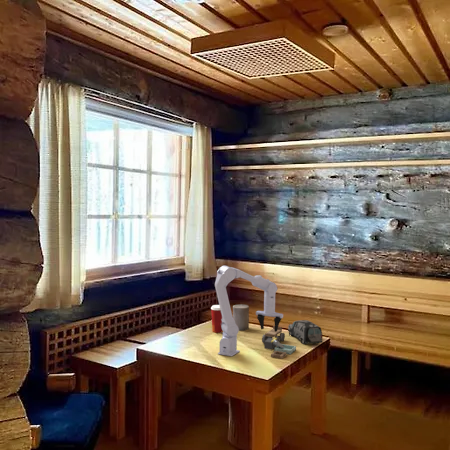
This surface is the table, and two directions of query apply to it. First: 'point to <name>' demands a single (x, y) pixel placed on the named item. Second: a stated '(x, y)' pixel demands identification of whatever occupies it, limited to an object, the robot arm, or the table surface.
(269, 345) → the chock
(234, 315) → the pillar candle
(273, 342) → the pin
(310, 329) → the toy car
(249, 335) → the table surface
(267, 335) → the trolley
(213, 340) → the table surface
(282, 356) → the pin holder
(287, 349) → the tray
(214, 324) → the coffee cup
